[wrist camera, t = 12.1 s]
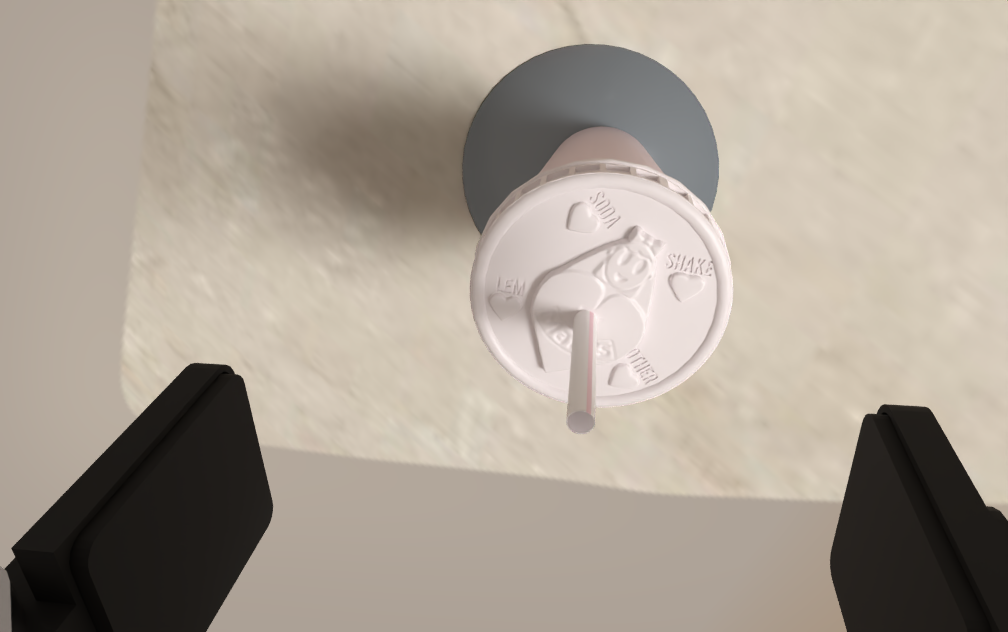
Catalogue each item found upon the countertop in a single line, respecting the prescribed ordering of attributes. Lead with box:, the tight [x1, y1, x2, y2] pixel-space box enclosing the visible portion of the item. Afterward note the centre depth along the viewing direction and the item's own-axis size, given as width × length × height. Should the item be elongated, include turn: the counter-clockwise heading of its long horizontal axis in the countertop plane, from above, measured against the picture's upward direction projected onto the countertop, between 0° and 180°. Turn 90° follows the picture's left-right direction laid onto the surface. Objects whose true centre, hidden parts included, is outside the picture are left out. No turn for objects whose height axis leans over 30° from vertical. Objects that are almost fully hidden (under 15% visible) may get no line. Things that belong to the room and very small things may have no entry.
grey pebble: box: [463, 44, 719, 235], centre depth 27 cm, size 9×9×1 cm
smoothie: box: [470, 126, 733, 434], centre depth 20 cm, size 6×6×14 cm
